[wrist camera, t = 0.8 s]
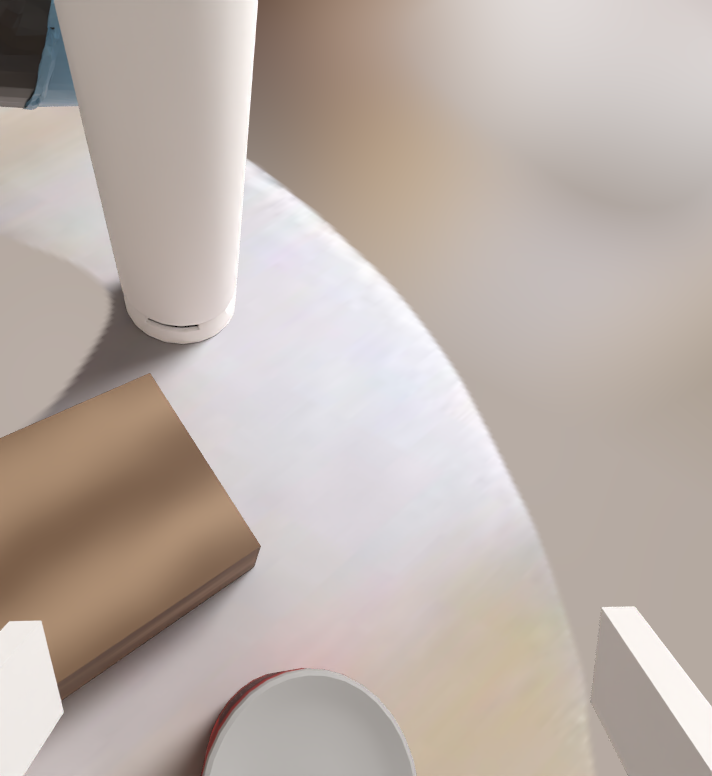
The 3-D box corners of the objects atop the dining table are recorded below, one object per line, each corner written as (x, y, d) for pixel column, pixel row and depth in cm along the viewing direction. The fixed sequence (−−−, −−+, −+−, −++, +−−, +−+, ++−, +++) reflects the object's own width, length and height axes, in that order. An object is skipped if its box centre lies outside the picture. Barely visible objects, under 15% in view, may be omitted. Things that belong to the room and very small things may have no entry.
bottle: (256, 310, 40) (327, -198, 16) (169, 362, 36) (92, -210, 12) (192, 244, 41) (171, -313, 18) (102, 288, 37) (-85, -357, 14)
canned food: (293, 897, 24) (341, 1037, 14) (169, 779, 25) (139, 840, 16) (381, 736, 28) (461, 765, 19) (270, 641, 29) (295, 623, 20)
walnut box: (-81, 534, 28) (-147, 502, 23) (160, 418, 34) (150, 372, 29) (5, 740, 24) (-51, 756, 19) (253, 567, 31) (260, 546, 26)
